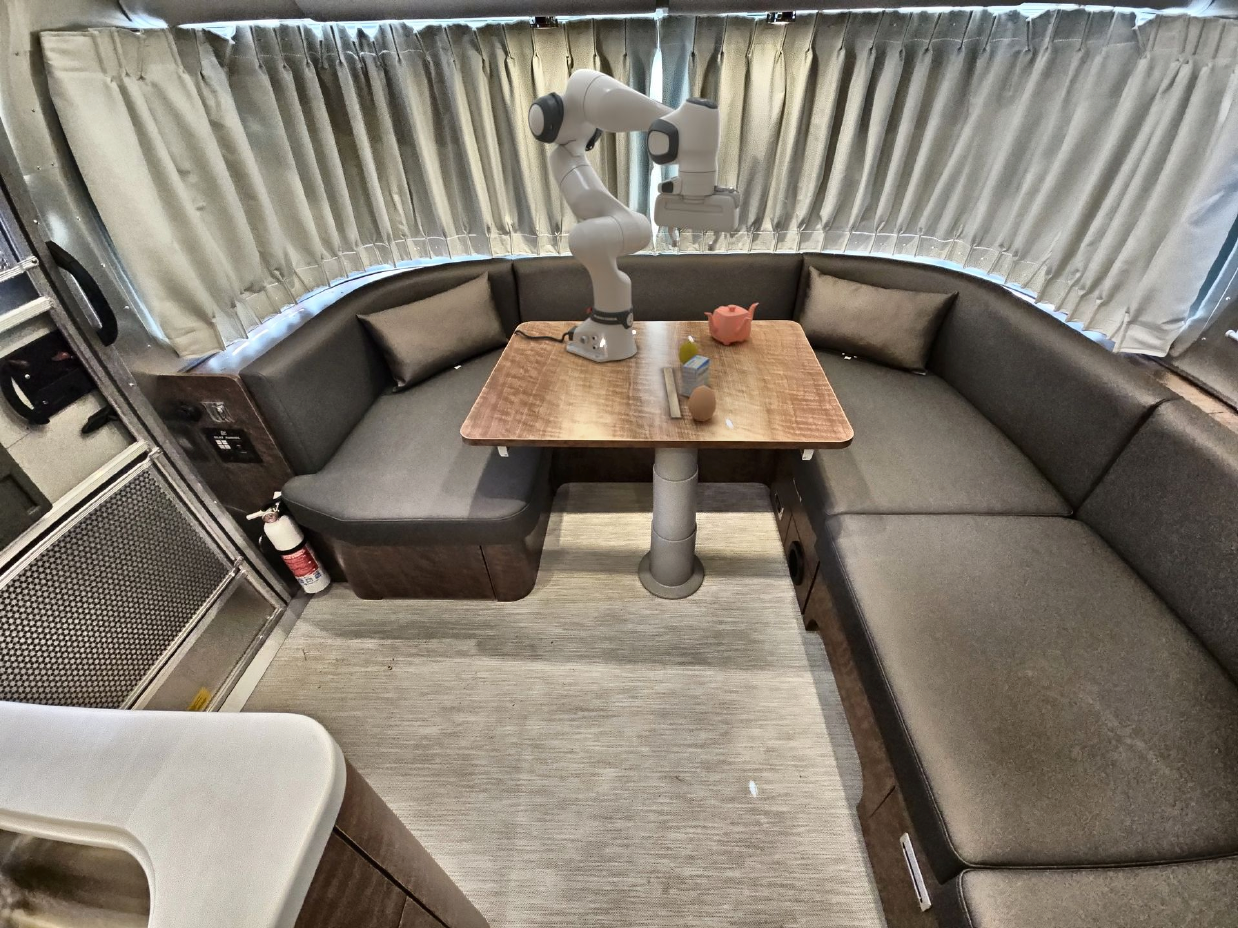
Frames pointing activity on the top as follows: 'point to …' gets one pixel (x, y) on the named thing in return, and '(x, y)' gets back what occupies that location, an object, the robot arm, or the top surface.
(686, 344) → the lemon
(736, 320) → the teapot
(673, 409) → the strip
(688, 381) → the medicine box
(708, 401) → the egg
